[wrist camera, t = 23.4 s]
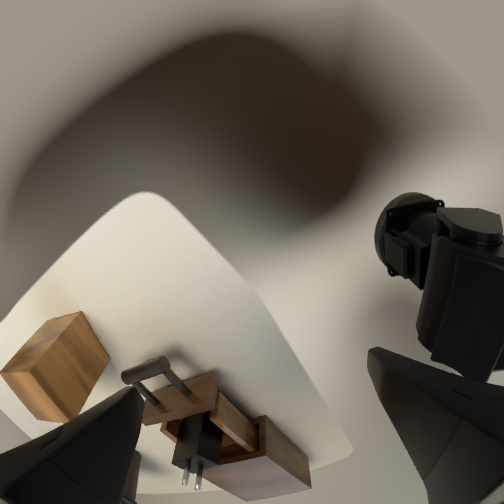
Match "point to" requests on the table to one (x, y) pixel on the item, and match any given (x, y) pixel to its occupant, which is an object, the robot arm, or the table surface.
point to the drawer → (192, 406)
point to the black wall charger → (197, 446)
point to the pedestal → (57, 368)
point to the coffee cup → (132, 481)
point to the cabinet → (263, 467)
